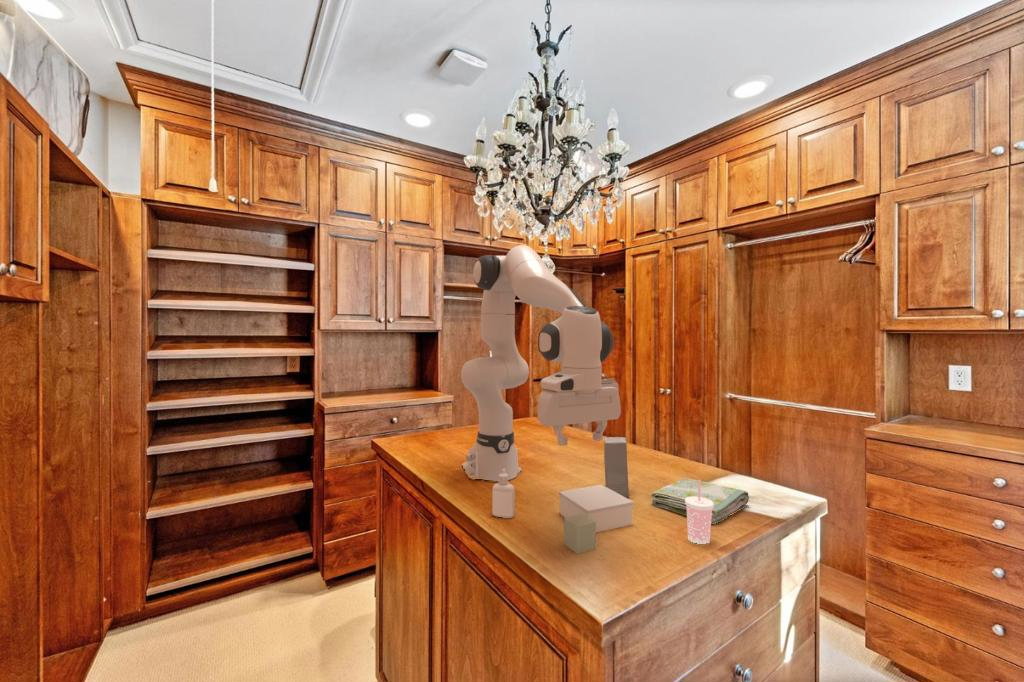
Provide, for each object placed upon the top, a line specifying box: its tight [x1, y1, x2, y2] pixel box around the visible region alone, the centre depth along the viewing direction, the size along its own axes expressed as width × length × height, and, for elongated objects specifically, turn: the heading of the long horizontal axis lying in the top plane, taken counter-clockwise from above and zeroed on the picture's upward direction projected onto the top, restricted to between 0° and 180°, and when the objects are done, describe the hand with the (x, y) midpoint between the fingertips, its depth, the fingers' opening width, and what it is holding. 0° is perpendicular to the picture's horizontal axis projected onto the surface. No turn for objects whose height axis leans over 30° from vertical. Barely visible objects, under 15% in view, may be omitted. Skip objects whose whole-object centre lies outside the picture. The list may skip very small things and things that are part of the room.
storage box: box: [558, 484, 634, 533], centre depth 114 cm, size 13×13×6 cm
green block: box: [563, 514, 597, 554], centre depth 99 cm, size 5×5×6 cm
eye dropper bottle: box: [491, 469, 516, 519], centre depth 115 cm, size 4×6×12 cm
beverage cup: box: [685, 478, 714, 545], centre depth 102 cm, size 6×6×14 cm
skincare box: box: [603, 436, 630, 499], centre depth 132 cm, size 8×7×16 cm
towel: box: [650, 478, 750, 525], centre depth 123 cm, size 18×21×5 cm
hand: (580, 442), depth 99 cm, fingers open, 8 cm apart
